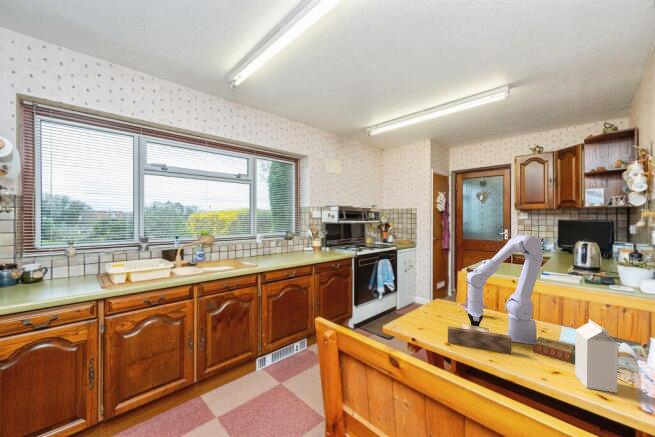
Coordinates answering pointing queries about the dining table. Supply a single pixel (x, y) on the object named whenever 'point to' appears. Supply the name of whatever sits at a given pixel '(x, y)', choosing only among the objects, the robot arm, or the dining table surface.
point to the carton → (555, 350)
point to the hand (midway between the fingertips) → (474, 331)
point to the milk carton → (596, 357)
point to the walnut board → (480, 339)
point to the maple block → (474, 328)
